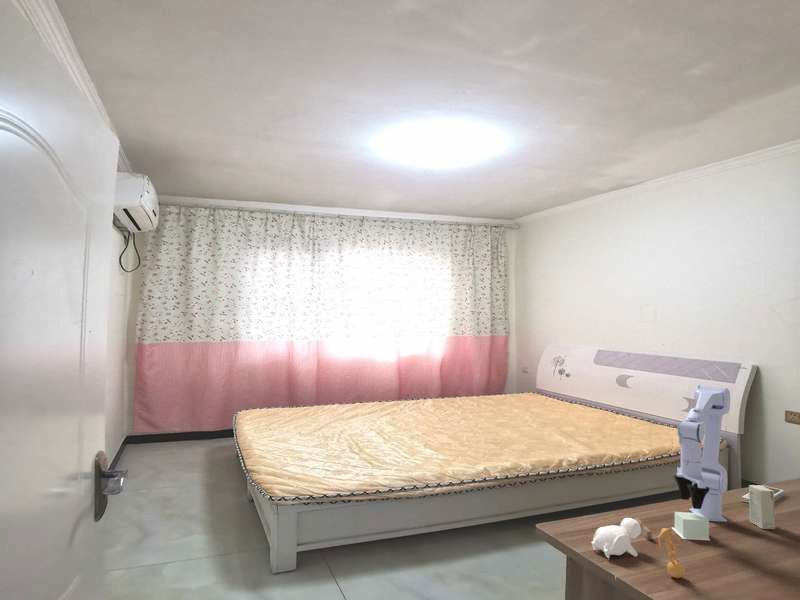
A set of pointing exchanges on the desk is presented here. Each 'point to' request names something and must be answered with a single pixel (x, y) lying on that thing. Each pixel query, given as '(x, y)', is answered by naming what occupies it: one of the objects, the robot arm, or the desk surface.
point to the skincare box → (761, 506)
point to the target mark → (690, 537)
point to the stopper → (644, 529)
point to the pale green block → (691, 525)
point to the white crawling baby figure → (617, 538)
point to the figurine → (671, 553)
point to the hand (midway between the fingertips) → (690, 503)
